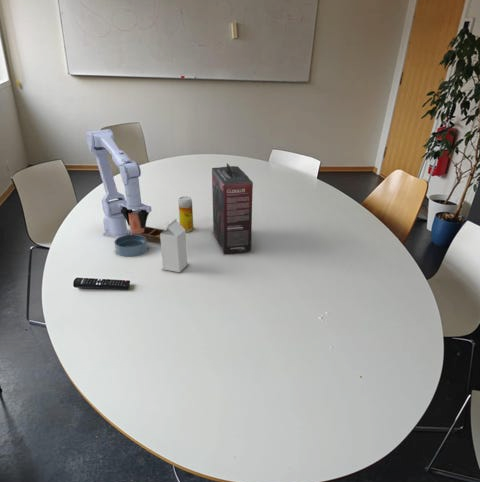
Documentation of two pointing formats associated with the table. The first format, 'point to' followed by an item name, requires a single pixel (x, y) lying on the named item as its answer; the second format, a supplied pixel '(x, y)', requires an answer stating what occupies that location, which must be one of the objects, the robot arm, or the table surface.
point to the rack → (151, 234)
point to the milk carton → (173, 247)
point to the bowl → (131, 245)
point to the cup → (135, 222)
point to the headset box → (232, 208)
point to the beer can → (186, 213)
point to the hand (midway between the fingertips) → (136, 226)
